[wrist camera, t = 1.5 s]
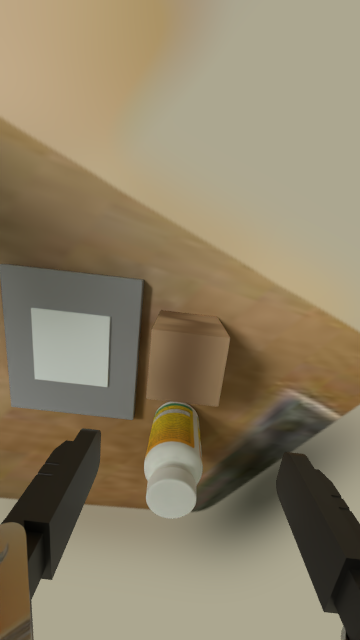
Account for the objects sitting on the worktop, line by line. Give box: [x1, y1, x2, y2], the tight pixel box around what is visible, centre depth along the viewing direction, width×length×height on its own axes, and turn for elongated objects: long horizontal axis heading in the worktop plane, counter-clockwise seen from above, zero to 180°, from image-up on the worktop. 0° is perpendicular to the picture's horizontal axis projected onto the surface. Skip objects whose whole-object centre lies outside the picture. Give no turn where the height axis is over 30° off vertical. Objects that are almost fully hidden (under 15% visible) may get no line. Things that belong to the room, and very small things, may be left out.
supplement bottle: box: [144, 402, 203, 518], centre depth 22 cm, size 5×5×10 cm
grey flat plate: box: [0, 264, 144, 420], centre depth 24 cm, size 14×16×1 cm
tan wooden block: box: [146, 310, 230, 407], centre depth 21 cm, size 6×6×7 cm
